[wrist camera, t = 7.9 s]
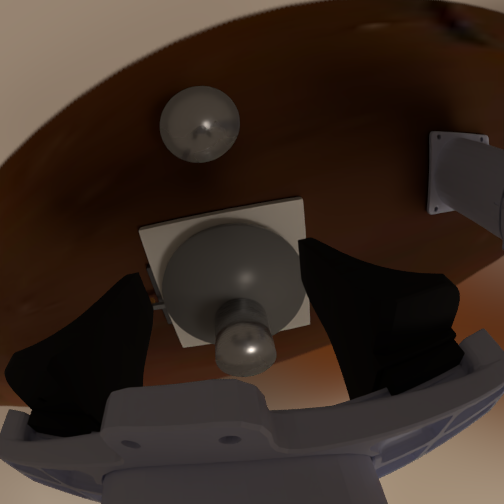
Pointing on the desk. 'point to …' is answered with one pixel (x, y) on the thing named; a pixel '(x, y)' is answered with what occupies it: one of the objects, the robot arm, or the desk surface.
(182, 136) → the cylinder
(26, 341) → the desk surface
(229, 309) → the steel spacer
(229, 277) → the scale pan
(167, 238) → the scale base
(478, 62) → the desk surface
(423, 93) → the desk surface
